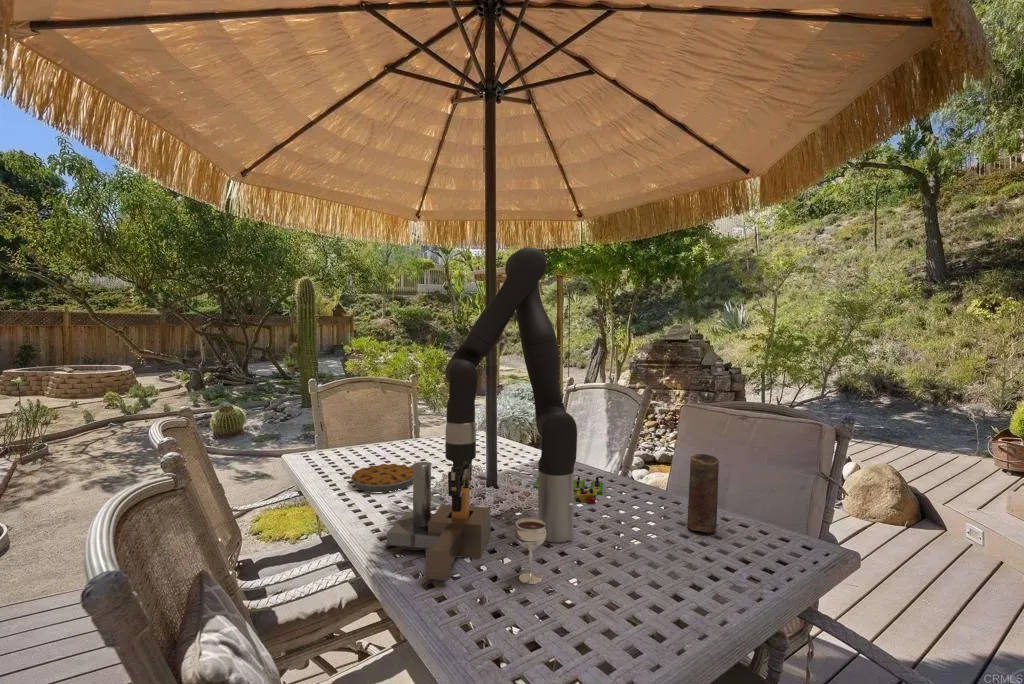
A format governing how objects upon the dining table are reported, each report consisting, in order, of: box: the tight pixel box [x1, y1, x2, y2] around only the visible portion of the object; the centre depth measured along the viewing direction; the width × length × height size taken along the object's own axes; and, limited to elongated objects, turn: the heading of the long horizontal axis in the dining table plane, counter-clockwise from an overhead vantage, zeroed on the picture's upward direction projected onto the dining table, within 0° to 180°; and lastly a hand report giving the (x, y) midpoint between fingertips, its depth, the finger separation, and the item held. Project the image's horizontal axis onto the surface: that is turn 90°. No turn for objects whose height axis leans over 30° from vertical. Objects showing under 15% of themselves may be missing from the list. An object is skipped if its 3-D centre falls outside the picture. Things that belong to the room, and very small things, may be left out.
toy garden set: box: [532, 475, 604, 505], centre depth 158 cm, size 23×19×5 cm
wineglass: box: [515, 516, 546, 585], centre depth 104 cm, size 7×7×12 cm
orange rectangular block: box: [452, 487, 471, 519], centre depth 119 cm, size 4×4×14 cm
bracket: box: [425, 504, 492, 581], centre depth 112 cm, size 13×24×8 cm, turn 171°
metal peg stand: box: [386, 461, 440, 551], centre depth 120 cm, size 14×14×20 cm
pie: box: [350, 463, 413, 493], centre depth 165 cm, size 22×22×5 cm
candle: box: [686, 453, 720, 534], centre depth 129 cm, size 8×7×20 cm
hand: (460, 505), depth 119 cm, fingers open, 6 cm apart
